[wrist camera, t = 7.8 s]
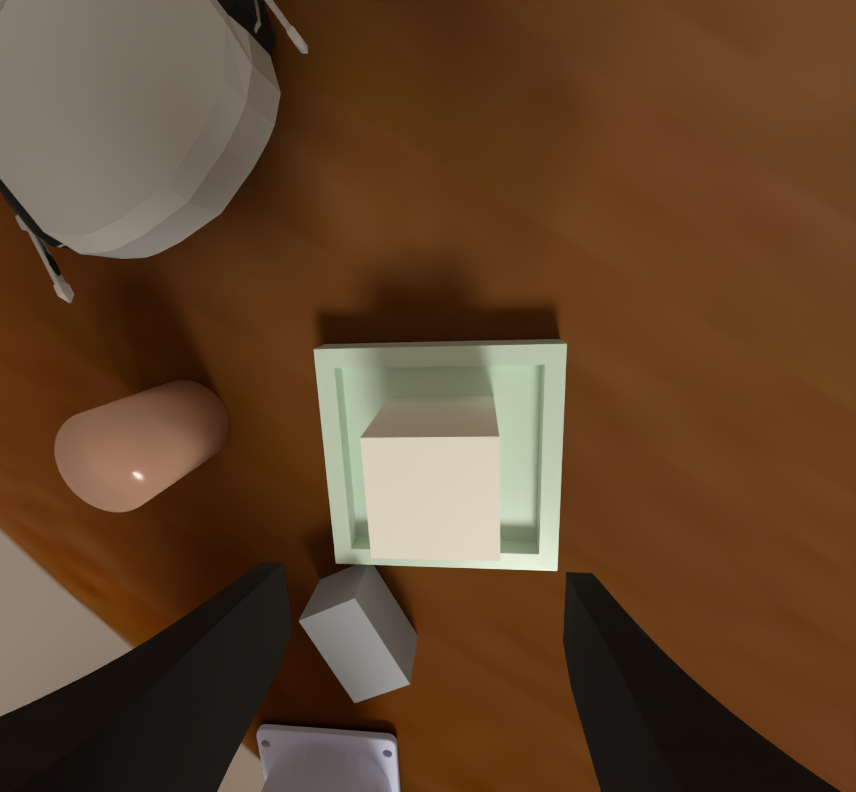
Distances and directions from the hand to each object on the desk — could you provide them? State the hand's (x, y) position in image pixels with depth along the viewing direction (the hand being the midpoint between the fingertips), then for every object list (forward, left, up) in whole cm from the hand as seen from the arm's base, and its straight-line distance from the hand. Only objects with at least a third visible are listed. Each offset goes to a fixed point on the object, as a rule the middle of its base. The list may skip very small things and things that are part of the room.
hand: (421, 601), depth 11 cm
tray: (0, 0, -9) cm, 9 cm away
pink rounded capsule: (+2, +12, -9) cm, 16 cm away
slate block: (-8, +4, -10) cm, 13 cm away
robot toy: (+17, +12, -10) cm, 23 cm away
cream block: (+1, 0, -9) cm, 9 cm away
